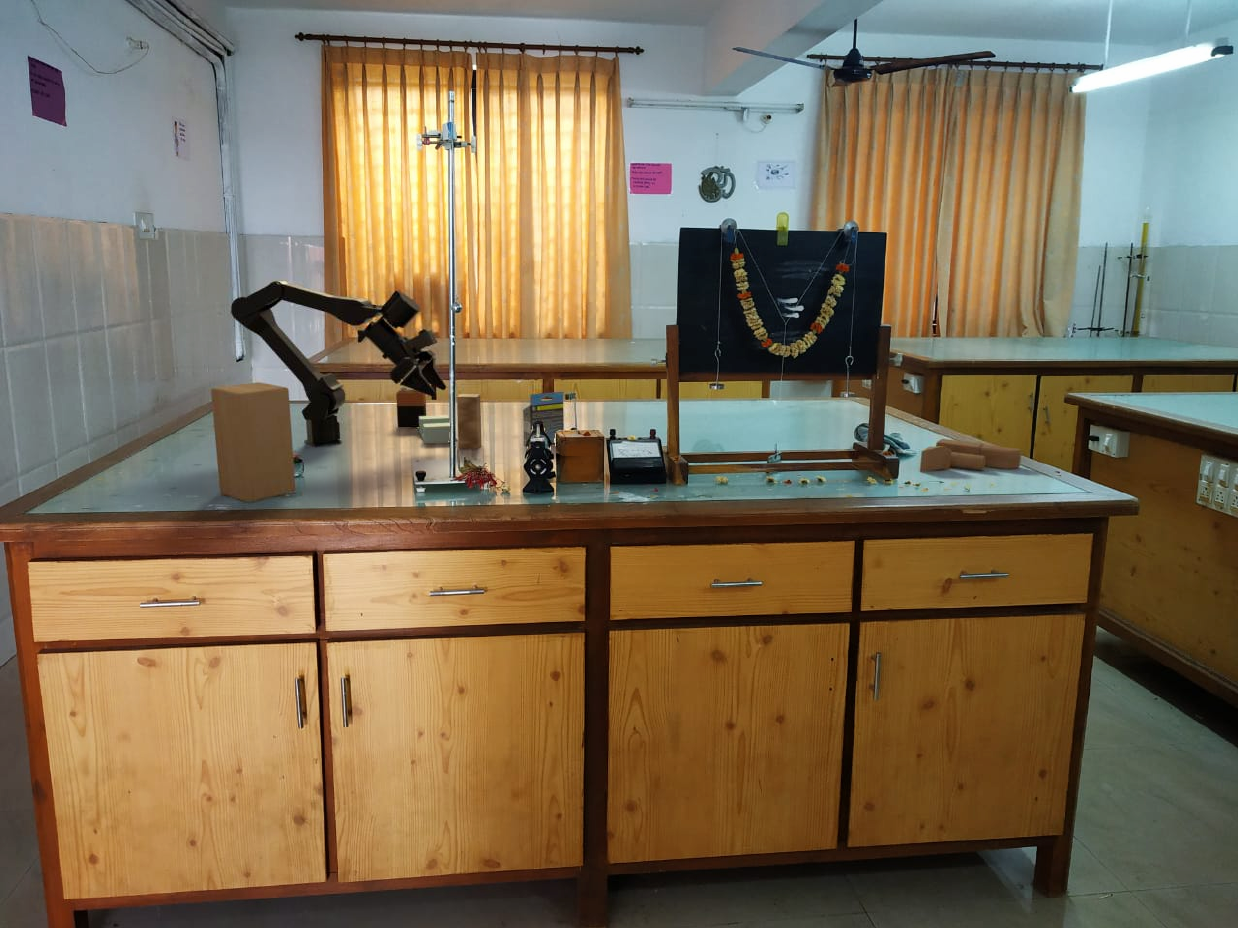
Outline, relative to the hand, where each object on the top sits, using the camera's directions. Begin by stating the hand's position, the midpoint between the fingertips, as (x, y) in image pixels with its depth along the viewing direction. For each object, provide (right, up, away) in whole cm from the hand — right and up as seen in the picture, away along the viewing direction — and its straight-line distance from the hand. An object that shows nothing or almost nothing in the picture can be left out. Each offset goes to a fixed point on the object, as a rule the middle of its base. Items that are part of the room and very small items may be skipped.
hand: (440, 392), depth 216 cm
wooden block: (-27, -22, -38) cm, 51 cm away
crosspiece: (-3, -10, +12) cm, 16 cm away
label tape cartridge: (+23, -12, +7) cm, 27 cm away
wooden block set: (+115, -18, -13) cm, 117 cm away
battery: (-12, -7, +25) cm, 29 cm away
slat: (+6, -12, +3) cm, 14 cm away
